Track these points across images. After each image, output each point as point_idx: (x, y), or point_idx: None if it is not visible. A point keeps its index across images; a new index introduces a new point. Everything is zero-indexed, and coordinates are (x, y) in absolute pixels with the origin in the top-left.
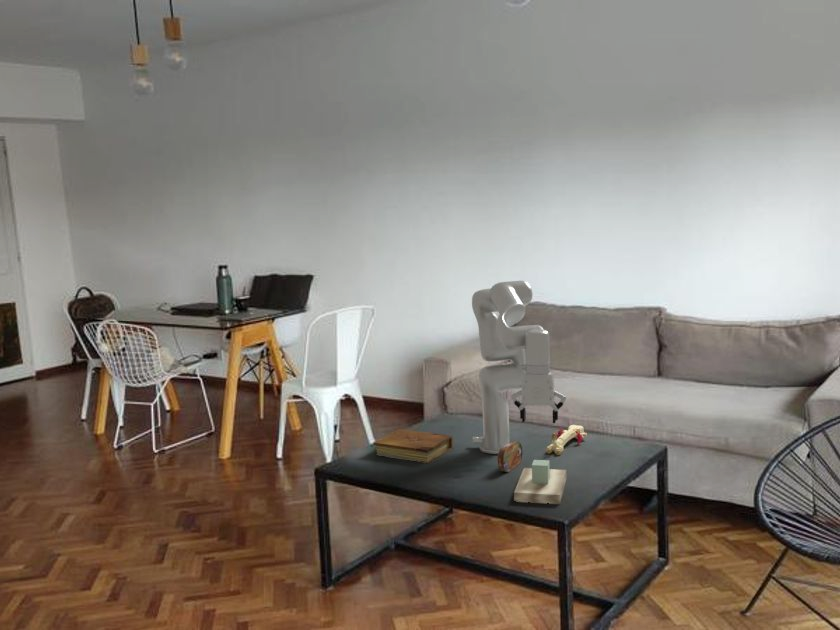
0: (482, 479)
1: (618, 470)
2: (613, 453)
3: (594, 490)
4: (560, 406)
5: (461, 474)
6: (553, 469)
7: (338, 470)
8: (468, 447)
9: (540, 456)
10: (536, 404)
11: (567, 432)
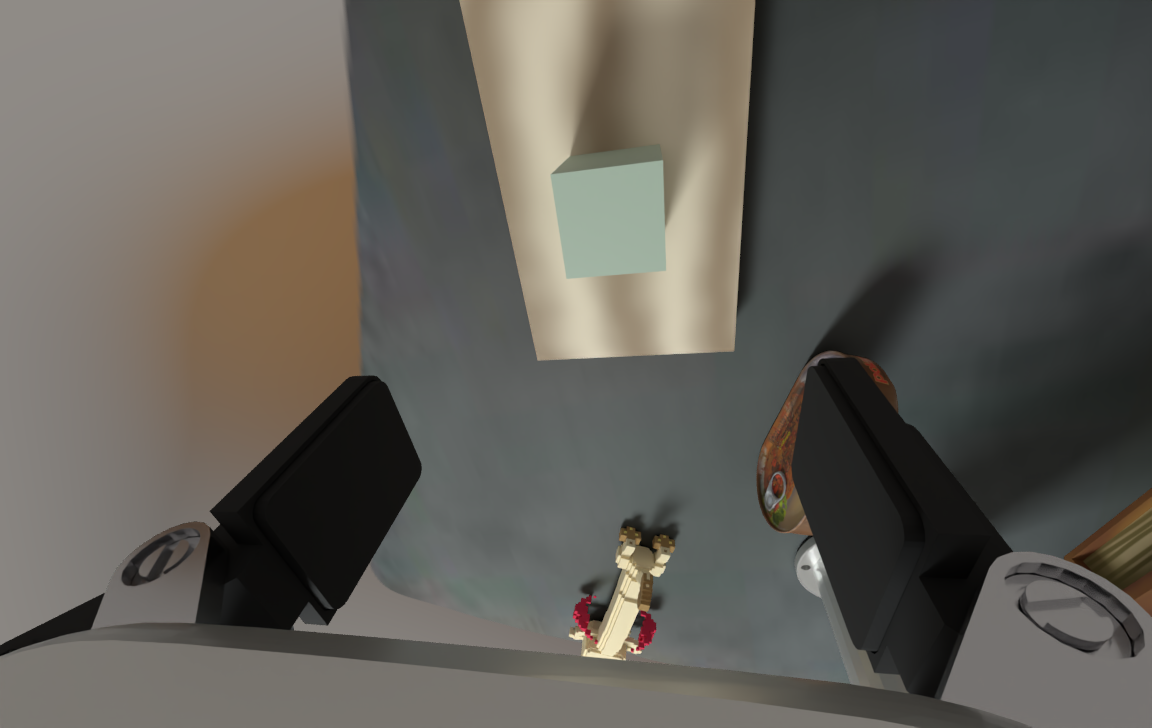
0: (950, 254)
1: None
2: (471, 545)
3: (398, 240)
4: (61, 627)
5: (1075, 298)
6: (592, 355)
7: None
8: None
9: (688, 514)
10: (465, 700)
11: (615, 632)
